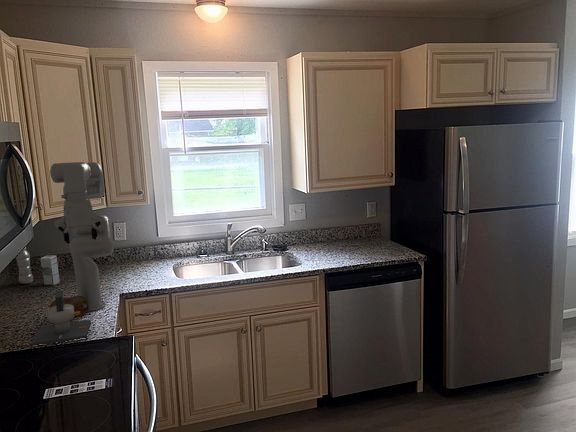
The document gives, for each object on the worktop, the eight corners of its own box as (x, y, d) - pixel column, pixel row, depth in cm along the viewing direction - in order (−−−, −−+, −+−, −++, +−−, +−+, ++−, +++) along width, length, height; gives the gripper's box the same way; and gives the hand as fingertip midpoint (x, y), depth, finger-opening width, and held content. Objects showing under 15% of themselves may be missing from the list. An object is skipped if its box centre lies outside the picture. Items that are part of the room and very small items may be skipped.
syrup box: (60, 281, 257) (57, 254, 255) (53, 285, 251) (50, 257, 249) (49, 282, 258) (46, 255, 255) (43, 285, 252) (39, 257, 250)
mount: (41, 329, 192) (39, 314, 191) (91, 323, 197) (89, 308, 196) (32, 346, 175) (30, 330, 175) (86, 339, 180) (85, 323, 180)
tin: (50, 320, 201) (47, 300, 200) (51, 317, 204) (49, 298, 203) (89, 315, 206) (87, 296, 204) (90, 313, 209) (88, 294, 207)
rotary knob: (47, 324, 179) (44, 299, 178) (49, 316, 187) (46, 292, 186) (80, 319, 183) (77, 294, 182) (80, 311, 192) (77, 288, 190)
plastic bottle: (27, 285, 253) (23, 247, 250) (16, 285, 254) (11, 247, 251) (36, 281, 259) (31, 244, 256) (25, 281, 260) (20, 244, 257)
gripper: (53, 199, 177) (59, 246, 180) (102, 195, 187) (107, 239, 190) (49, 198, 183) (54, 243, 186) (97, 193, 193) (101, 236, 196)
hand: (81, 241), depth 188 cm, fingers open, 9 cm apart
